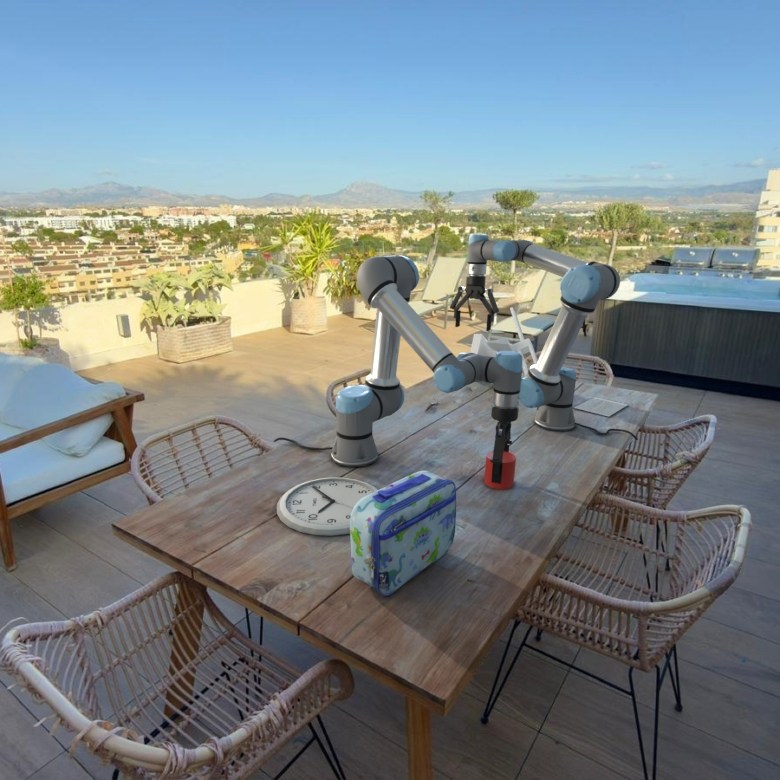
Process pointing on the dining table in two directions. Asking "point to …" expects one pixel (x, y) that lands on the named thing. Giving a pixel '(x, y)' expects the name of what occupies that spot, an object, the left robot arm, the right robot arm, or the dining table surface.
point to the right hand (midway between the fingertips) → (472, 328)
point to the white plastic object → (504, 345)
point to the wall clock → (322, 505)
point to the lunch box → (402, 530)
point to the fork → (432, 403)
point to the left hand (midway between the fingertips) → (499, 473)
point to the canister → (507, 471)
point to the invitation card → (601, 406)
